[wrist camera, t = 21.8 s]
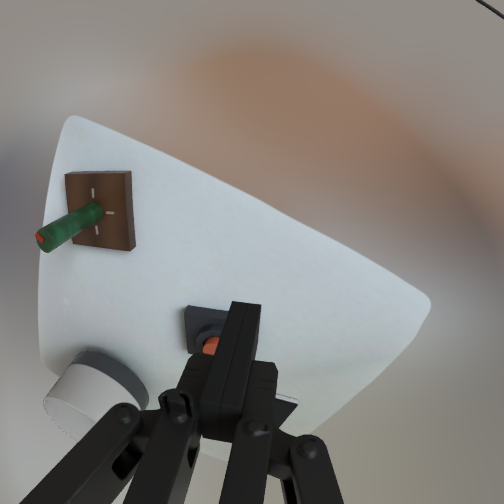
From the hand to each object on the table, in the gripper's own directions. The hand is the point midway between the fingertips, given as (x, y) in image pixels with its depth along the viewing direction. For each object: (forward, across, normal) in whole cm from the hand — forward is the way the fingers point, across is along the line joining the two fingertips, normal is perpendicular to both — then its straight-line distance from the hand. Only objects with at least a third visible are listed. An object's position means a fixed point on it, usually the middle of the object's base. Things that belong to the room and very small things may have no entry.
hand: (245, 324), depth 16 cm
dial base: (+26, -27, -3) cm, 38 cm away
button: (+23, -7, -23) cm, 33 cm away
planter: (+26, -32, -42) cm, 59 cm away
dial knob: (+24, -27, -3) cm, 36 cm away
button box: (+26, -7, -23) cm, 36 cm away
